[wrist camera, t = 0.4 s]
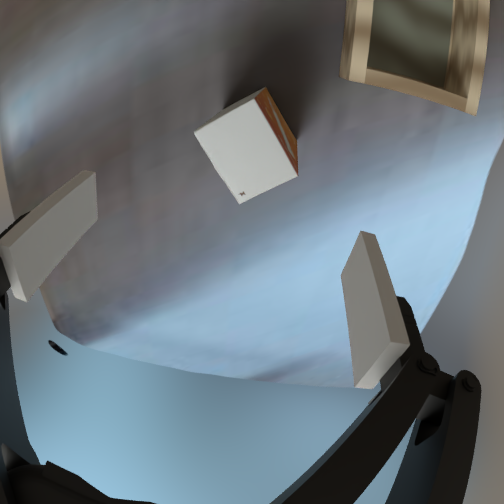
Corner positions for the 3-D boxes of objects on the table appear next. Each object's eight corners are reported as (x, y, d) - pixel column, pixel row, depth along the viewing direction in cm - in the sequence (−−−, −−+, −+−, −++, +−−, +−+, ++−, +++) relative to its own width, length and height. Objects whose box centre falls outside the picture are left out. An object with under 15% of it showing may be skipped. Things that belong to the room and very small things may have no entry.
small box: (298, 141, 38) (300, 177, 27) (253, 162, 40) (238, 206, 30) (266, 84, 34) (254, 96, 24) (221, 109, 37) (190, 133, 26)
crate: (351, -81, 19) (361, -103, 14) (462, -44, 19) (487, -55, 13) (338, 76, 33) (348, 80, 27) (449, 105, 32) (475, 116, 26)
